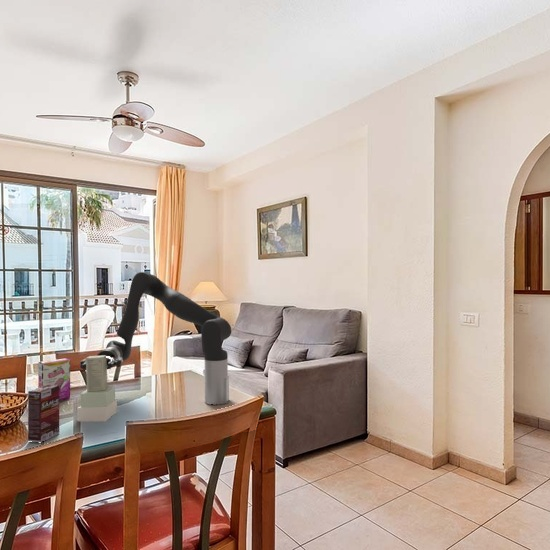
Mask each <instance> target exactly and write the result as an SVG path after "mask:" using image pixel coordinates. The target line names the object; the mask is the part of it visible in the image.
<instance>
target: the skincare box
mask: <svg viewBox="0 0 550 550" xmlns="http://www.w3.org/2000/svg"><path fill="white" fill-rule="evenodd" d="M85 359H86V370H85V372H86V374H85V375H86V378H85V379H86V390H87V391H102V390H105V389H106V388H107V386H108V369H107V362H106V355H100V356H97V355H89V356H87V357H85Z"/></svg>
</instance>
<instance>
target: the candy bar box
mask: <svg viewBox="0 0 550 550" xmlns="http://www.w3.org/2000/svg"><path fill="white" fill-rule="evenodd" d="M37 367H38V369H37V370H38V372H37V374H38V376H37V378H38V385H37V386H38V388H40V387H43V386H46V385H59V401H61V400H67V399H71V359H70V358H60V359H52V360H51V359H50V360H42V361H38V363H37Z"/></svg>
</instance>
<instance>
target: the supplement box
mask: <svg viewBox="0 0 550 550" xmlns="http://www.w3.org/2000/svg"><path fill="white" fill-rule="evenodd" d="M27 399H28V400H27V402H28V403H27V405H28V406H27V408H28V409H27V413H28V414H27V418H28V419H27V421H28V422H27V424H28V425H27V426H28V427H27V442H28V441H32V442H42V441H44V442H45V440H46V441H47V440H49V439H51V438H53V437H55V436H57V435H59V434H60V400H59V385H46V386H43V387H40V388H34V389H32V390H29V391H28V392H27ZM42 443H43V442H42Z"/></svg>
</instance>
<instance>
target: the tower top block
mask: <svg viewBox="0 0 550 550" xmlns="http://www.w3.org/2000/svg"><path fill="white" fill-rule="evenodd" d="M115 399H116V386H115V385H111V386H109V385H107V388H106V389H105V390H102V391H87V389H85V390H83V391H82V392H81V393H80V406H81V408H90V407H107V406H108V405H109V404H111V403H112V402H113V401H114V400H115Z"/></svg>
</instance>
